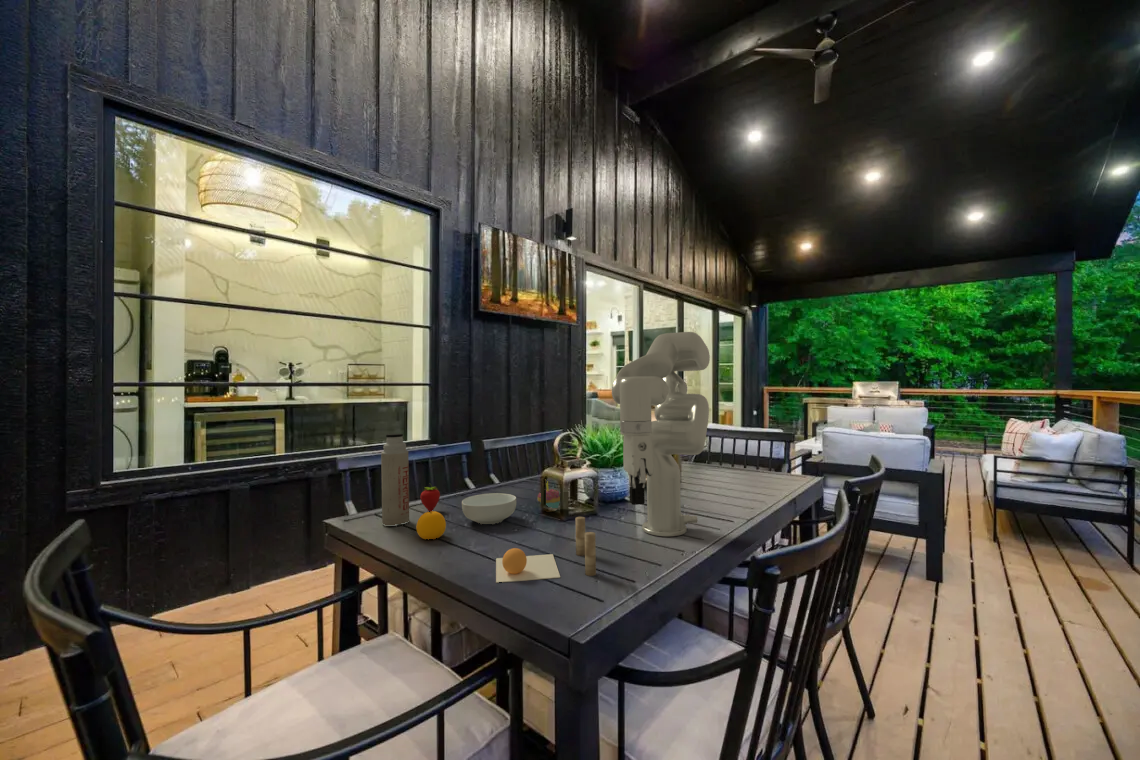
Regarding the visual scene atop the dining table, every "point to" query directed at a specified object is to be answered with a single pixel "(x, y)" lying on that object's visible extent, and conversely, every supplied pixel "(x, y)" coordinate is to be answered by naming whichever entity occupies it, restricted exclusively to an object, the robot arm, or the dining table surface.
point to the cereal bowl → (489, 507)
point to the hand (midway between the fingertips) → (637, 503)
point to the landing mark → (529, 569)
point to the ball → (514, 561)
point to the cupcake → (551, 497)
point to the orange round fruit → (431, 525)
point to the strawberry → (430, 497)
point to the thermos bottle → (395, 481)
